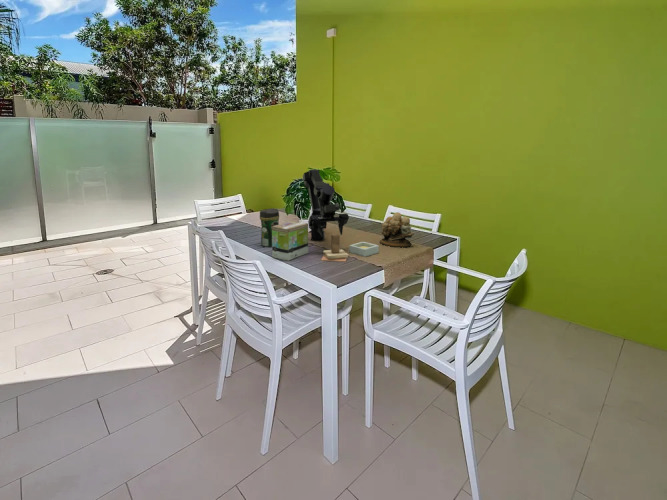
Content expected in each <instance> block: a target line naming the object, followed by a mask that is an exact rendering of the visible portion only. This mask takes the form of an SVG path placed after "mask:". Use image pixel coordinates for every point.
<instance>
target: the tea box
mask: <svg viewBox="0 0 667 500" xmlns="http://www.w3.org/2000/svg"><path fill="white" fill-rule="evenodd" d="M271 250H272V254H271V255H272V258H275V259H279V260H282V261H283V260H284V261H288V262H289V261H291V260H293V259H295V258H298V257H300V256H303V255H306V254H308V253H309V224H308V222H307V223H306V222H301V221H299V222H298V221H294V220H291V221H287V222H284V223H279V225H275V226H272V249H271Z"/></svg>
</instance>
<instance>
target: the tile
mask: <svg viewBox="0 0 667 500" xmlns="http://www.w3.org/2000/svg"><path fill="white" fill-rule="evenodd" d="M347 254H348V257H344V258H338V259H328V258H327V257H326V255H325V254H323V256H322V258H321V259H320V261H322V262H337V263H338V262H339V263H346V262H347V260H348V258H349V255H350V253H347Z"/></svg>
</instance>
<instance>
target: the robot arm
mask: <svg viewBox="0 0 667 500" xmlns="http://www.w3.org/2000/svg"><path fill="white" fill-rule="evenodd" d="M302 181H303V183H304V187H306V188H307V189H308V194H309V200H310V205H311V215H310V216H309V217H308V222H307V223H308V229H309V230H310V235H311V237H310V241H315V242H317V241H318V242H323V240H324V239H326V238H325V237H326V234H325V233H326V229H327V225H328V223H329V222H337V224H338V225H337V226H338V229H339V235H340V236H342V235H343V232H344V231H343V228H344V226H345V225H346V224H347V223H348V221H349V219H350V216H349V214H348V213H347V212H346V213H339V215H338V216H336V212H339V211H340V209H341V207H340V204H339V203H338V202H337V203H334V204H332V202H331V201H332V200H333V197H334V193H335V188H334V187H333V186H332V185H330V183H329V182H327V183H326V182H324V181H323V179H322V177H321V175H320V170H319V169H315V168H314V169H309V170H308V171H305V172H303V174H302Z"/></svg>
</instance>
